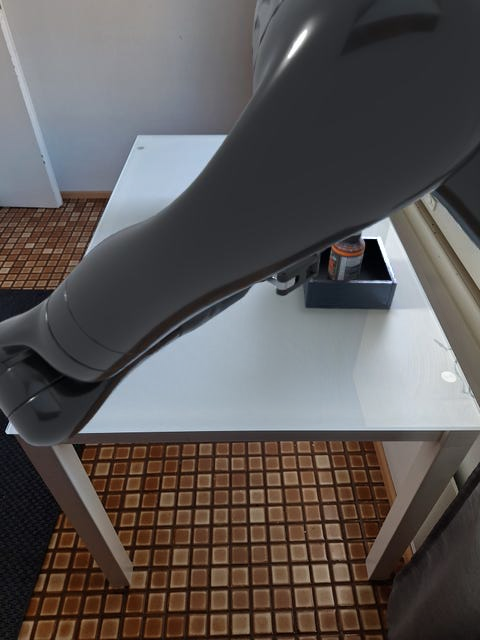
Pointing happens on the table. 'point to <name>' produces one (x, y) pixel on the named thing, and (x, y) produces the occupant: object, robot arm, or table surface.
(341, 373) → the table surface
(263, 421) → the table surface
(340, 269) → the supplement bottle
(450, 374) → the table surface
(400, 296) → the table surface
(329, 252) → the dark open box
